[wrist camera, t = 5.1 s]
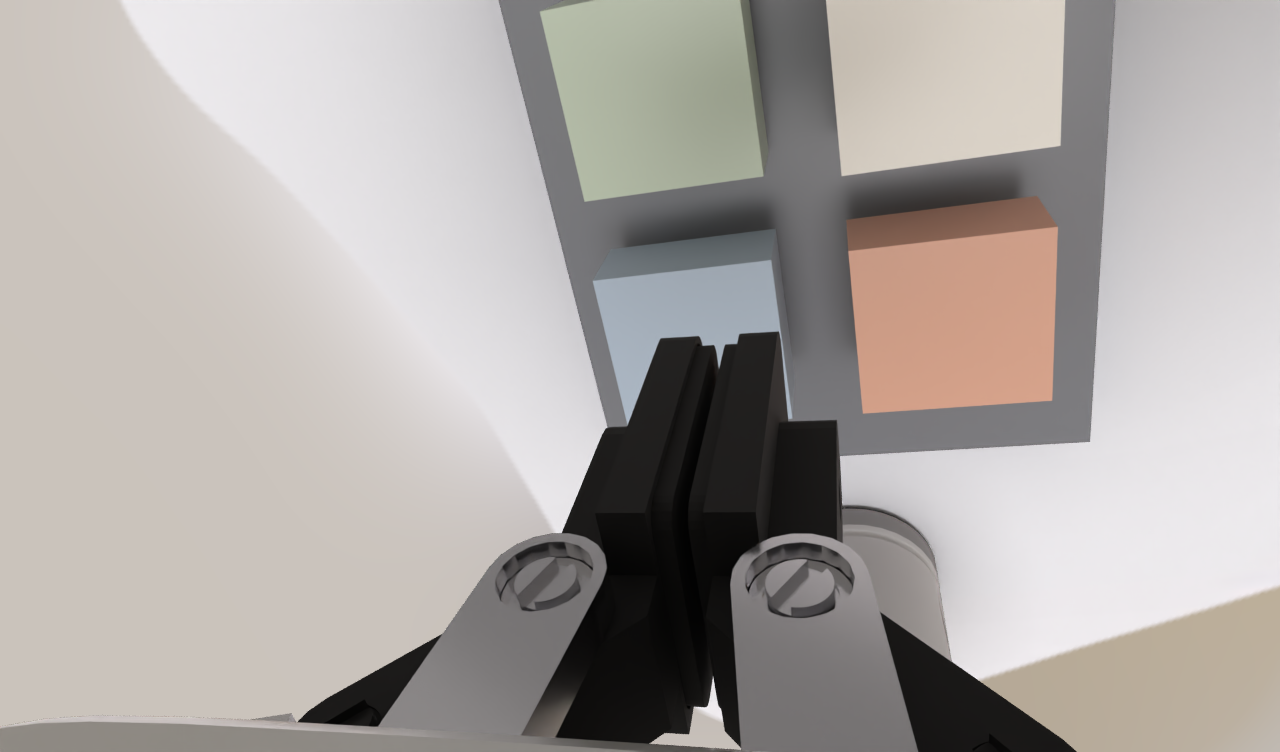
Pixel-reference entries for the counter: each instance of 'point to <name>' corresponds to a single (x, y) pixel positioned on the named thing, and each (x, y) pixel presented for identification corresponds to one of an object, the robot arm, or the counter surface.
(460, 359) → the counter surface
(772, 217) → the keypad board
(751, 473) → the robot arm
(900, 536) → the travel mug
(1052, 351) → the key terracotta
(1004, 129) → the key cream
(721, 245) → the key blue
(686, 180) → the key sage
